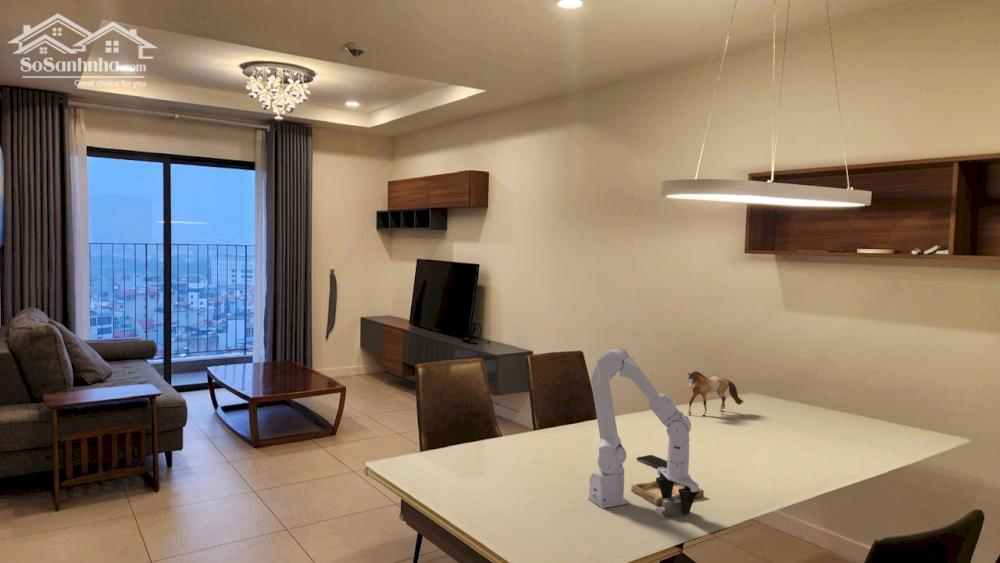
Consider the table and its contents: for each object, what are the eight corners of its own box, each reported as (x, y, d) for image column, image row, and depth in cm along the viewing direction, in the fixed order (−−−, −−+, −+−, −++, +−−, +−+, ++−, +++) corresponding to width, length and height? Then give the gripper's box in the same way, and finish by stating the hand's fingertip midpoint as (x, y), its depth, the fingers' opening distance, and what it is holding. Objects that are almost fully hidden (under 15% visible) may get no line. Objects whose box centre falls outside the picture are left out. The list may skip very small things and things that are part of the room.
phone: (667, 471, 205) (635, 457, 218) (667, 474, 205) (635, 461, 218) (684, 467, 209) (651, 454, 222) (683, 471, 209) (651, 457, 222)
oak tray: (656, 505, 178) (656, 498, 178) (631, 491, 188) (631, 484, 188) (703, 497, 185) (703, 490, 185) (677, 483, 196) (677, 477, 196)
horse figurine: (688, 419, 275) (690, 372, 274) (677, 414, 282) (679, 369, 281) (744, 414, 286) (746, 369, 285) (732, 409, 294) (734, 366, 293)
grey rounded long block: (662, 519, 169) (662, 505, 169) (653, 514, 172) (654, 500, 172) (692, 513, 173) (692, 499, 173) (683, 508, 177) (684, 494, 176)
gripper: (708, 466, 168) (706, 516, 168) (671, 450, 181) (670, 496, 181) (687, 469, 165) (685, 520, 165) (652, 453, 178) (650, 500, 178)
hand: (676, 508), depth 173 cm, fingers open, 7 cm apart
